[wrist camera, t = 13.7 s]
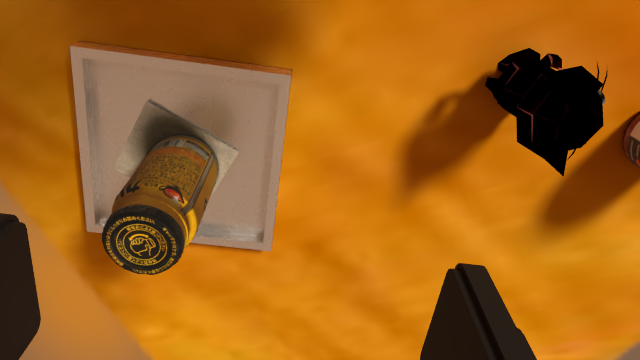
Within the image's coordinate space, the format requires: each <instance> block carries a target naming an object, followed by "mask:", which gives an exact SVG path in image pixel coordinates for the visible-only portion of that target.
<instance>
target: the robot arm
mask: <svg viewBox="0 0 640 360" xmlns="http://www.w3.org/2000/svg"><path fill="white" fill-rule="evenodd" d="M40 320H41V318H40V310H39V304H38V298H37V291H36V285H35V278H34V272H33V266H32V259H31V253H30V247H29V241H28V234H27V228H26V225H25V224H24V223H22V222H19V220H18V218H17V217H16V216H15V215H11V214H2V213H0V360H19V358H20V357H21V355H22V354H23V352H24V351H25V350H26V348H27V347H28V345H29V344H30V342H31V341H32V339H33V338H34V336H35V335H36V333H37V331H38V329H39V326H40ZM420 360H537V359H536V357H535V355H534V353H533V351H532V349H531V347H530V346H529V344H528V342H527V340H526V338H525V336H524V334H523V333H522V332H521V330H520V329H518V328H517V327H516V326H515V324H514V322H513V320H512V318H511V316H510V314H509V312H508V310H507V308H506V306H505V304H504V302H503V300H502V298H501V296H500V295H499V293H498V291H497V289H496V287H495V285H494V283H493V281H492V279H491V277H490V275H489V273H488V271H487V269H486V268H485V267H484V266H481V265H472V264H463V263H459V264H457V265H456V267H455V269H449V270H448V271H447V273H446V276H445V279H444V283H443V286H442V289H441V292H440V295H439V298H438V301H437V304H436V307H435V311H434V314H433V317H432V320H431V323H430V326H429V329H428V332H427V336H426V339H425V342H424V345H423V348H422V351H421V356H420Z"/></svg>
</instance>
